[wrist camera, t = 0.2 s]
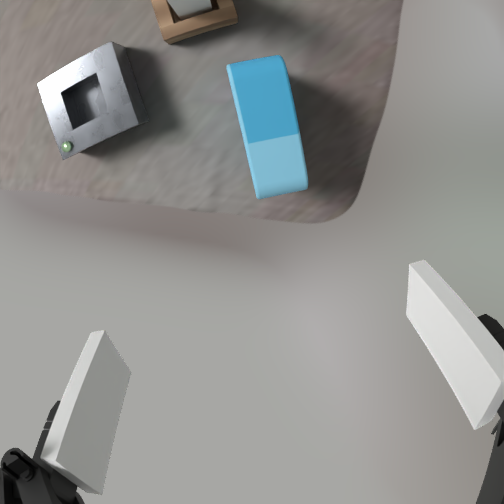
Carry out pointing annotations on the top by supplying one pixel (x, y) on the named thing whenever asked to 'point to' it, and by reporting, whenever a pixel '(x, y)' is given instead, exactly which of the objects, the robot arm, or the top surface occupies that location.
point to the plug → (190, 7)
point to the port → (92, 99)
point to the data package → (269, 125)
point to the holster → (193, 20)
